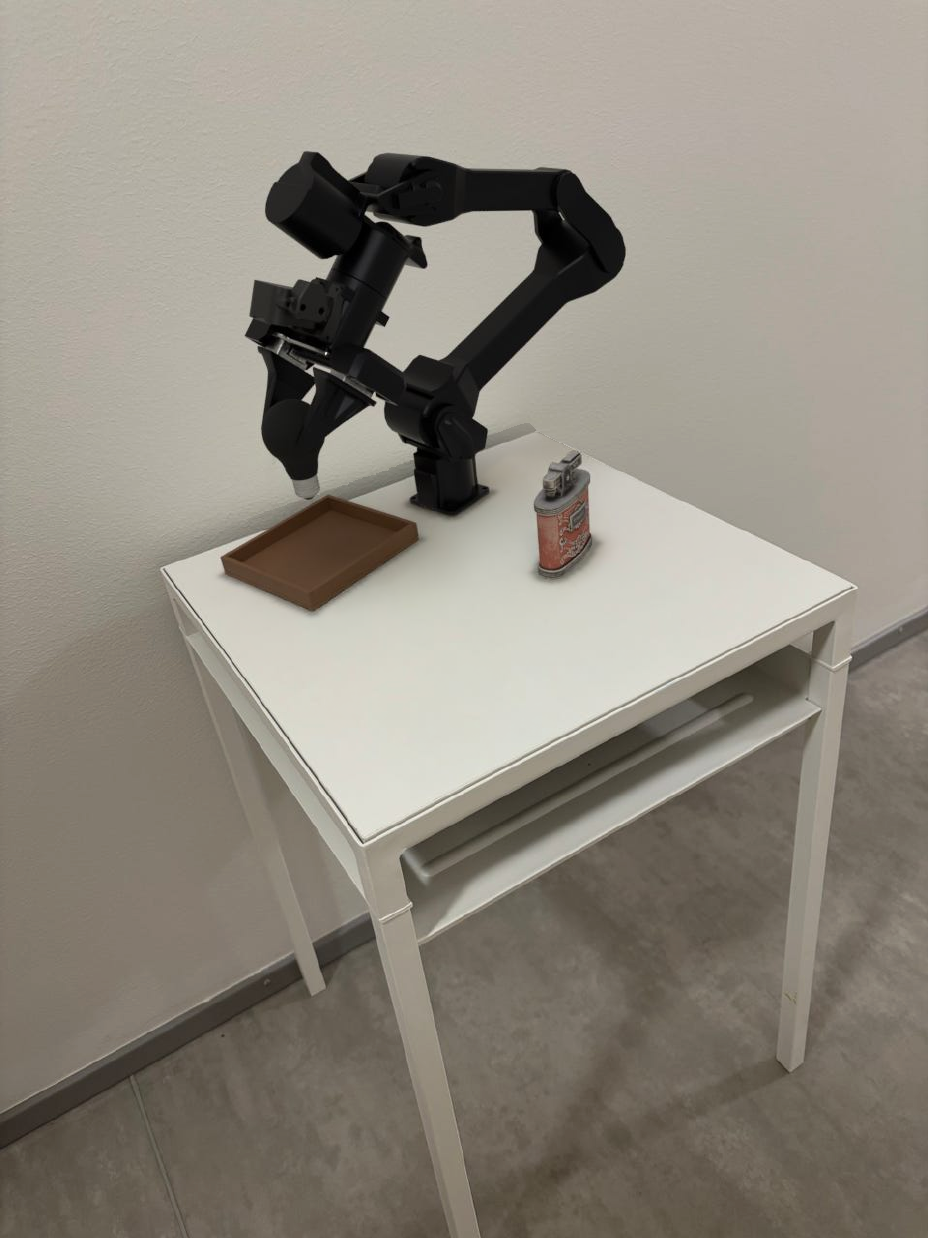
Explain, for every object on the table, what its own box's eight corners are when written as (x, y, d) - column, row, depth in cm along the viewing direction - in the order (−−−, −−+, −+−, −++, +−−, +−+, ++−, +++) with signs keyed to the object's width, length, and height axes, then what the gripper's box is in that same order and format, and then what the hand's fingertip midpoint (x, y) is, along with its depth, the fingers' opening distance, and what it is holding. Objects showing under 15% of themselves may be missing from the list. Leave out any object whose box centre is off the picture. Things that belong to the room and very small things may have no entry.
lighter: (562, 582, 88) (557, 485, 82) (530, 574, 89) (523, 479, 84) (599, 540, 93) (597, 447, 87) (568, 534, 95) (564, 441, 89)
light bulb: (276, 492, 94) (251, 397, 88) (334, 479, 94) (313, 384, 89) (282, 519, 89) (257, 420, 83) (344, 505, 90) (322, 406, 84)
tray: (331, 510, 104) (328, 494, 103) (419, 539, 97) (416, 522, 96) (225, 573, 95) (220, 557, 94) (312, 611, 88) (308, 593, 87)
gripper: (238, 226, 86) (164, 380, 88) (353, 251, 74) (265, 431, 75) (326, 289, 95) (258, 430, 96) (443, 321, 82) (363, 482, 83)
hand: (282, 441), depth 87 cm, fingers closed on light bulb, 6 cm apart
